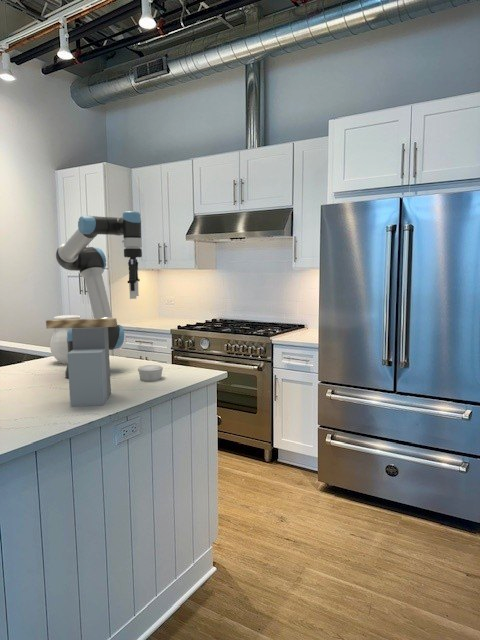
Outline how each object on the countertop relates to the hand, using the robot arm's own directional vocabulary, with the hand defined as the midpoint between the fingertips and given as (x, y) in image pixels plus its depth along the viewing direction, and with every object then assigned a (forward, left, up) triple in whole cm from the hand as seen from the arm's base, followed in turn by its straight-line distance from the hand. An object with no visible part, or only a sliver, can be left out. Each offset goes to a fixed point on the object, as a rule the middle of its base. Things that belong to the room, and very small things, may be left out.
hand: (134, 297), depth 201 cm
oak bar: (0, -28, -10) cm, 29 cm away
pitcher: (-63, +10, -38) cm, 74 cm away
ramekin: (+1, +7, -38) cm, 39 cm away
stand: (+5, -29, -38) cm, 48 cm away
